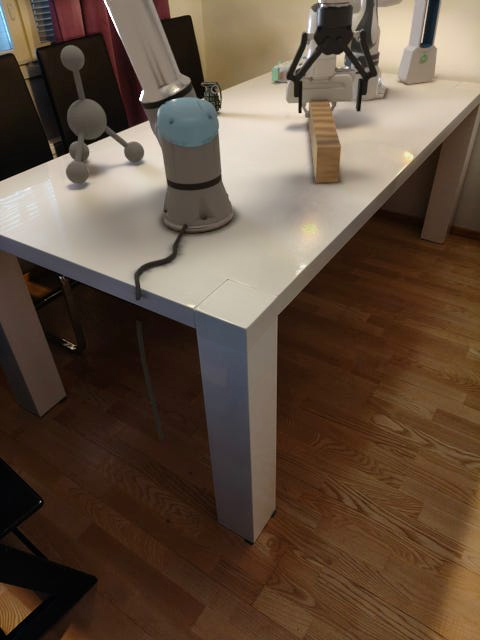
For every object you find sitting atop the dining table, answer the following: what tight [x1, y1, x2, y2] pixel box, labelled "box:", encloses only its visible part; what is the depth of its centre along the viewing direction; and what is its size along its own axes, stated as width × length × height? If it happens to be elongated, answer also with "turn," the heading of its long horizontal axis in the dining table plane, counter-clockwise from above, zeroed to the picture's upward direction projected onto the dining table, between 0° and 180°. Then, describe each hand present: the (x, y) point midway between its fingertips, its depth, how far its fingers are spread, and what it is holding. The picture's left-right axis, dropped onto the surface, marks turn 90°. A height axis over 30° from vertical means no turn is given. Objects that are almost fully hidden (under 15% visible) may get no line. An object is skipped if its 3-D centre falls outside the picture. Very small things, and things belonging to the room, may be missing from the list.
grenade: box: [200, 81, 223, 113], centre depth 169 cm, size 7×6×10 cm
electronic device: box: [397, 0, 442, 85], centre depth 186 cm, size 12×8×30 cm, turn 105°
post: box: [307, 100, 342, 184], centre depth 136 cm, size 50×6×9 cm, turn 176°
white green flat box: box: [271, 55, 306, 83], centre depth 207 cm, size 26×6×20 cm
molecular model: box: [60, 44, 145, 185], centre depth 125 cm, size 24×22×30 cm
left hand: (328, 111), depth 115 cm, fingers open, 13 cm apart
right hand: (318, 117), depth 152 cm, fingers closed on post, 5 cm apart
